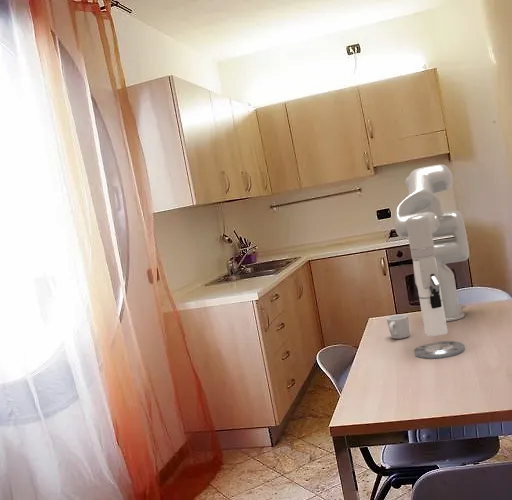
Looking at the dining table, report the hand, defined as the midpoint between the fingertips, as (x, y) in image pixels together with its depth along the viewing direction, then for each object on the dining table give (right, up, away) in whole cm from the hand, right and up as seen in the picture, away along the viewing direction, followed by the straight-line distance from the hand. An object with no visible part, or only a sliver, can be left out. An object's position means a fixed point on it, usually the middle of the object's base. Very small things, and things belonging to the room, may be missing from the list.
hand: (431, 305), depth 204 cm
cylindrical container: (+2, -9, +1) cm, 9 cm away
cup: (-4, -15, +28) cm, 32 cm away
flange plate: (+3, -15, +1) cm, 16 cm away
